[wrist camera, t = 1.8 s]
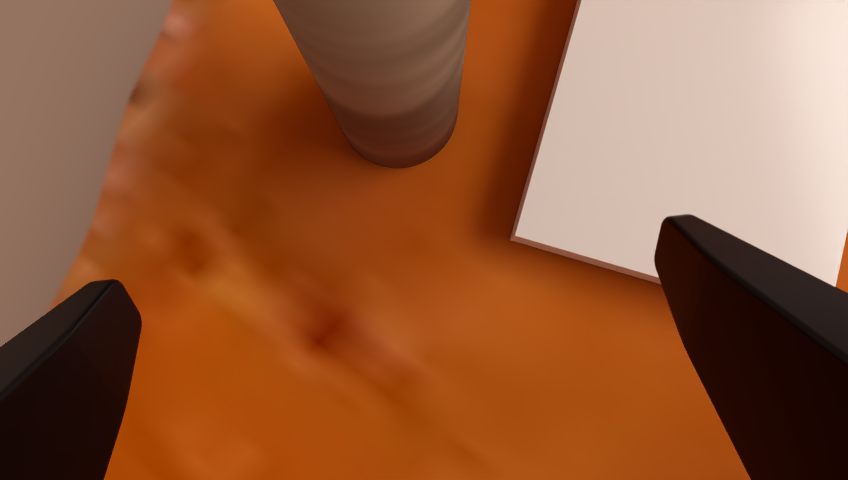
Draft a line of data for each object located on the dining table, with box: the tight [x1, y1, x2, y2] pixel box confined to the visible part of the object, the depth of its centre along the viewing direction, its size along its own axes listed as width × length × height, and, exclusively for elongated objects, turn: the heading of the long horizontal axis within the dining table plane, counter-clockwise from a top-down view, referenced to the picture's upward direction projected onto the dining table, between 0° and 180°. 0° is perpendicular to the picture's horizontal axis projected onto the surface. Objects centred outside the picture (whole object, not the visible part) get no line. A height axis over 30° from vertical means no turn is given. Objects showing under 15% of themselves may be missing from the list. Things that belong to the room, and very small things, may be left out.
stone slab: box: [510, 0, 848, 286], centre depth 22 cm, size 16×12×2 cm
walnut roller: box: [273, 0, 471, 168], centre depth 17 cm, size 5×5×13 cm
